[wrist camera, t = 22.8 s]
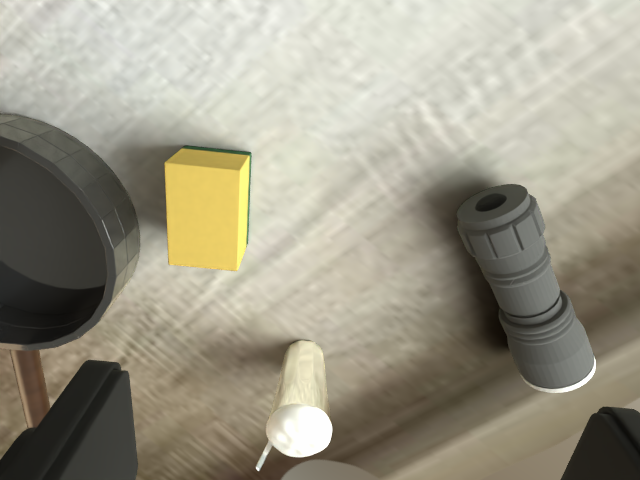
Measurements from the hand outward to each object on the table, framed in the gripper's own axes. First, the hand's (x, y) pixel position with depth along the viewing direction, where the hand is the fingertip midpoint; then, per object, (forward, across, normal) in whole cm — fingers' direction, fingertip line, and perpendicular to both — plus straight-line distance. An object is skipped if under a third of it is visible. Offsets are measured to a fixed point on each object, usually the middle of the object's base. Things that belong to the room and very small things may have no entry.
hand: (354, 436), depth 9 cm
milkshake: (+24, +1, +18) cm, 30 cm away
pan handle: (+22, +22, +21) cm, 37 cm away
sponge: (+24, +8, +4) cm, 26 cm away
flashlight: (+24, -15, +8) cm, 30 cm away
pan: (+24, +22, +8) cm, 34 cm away
